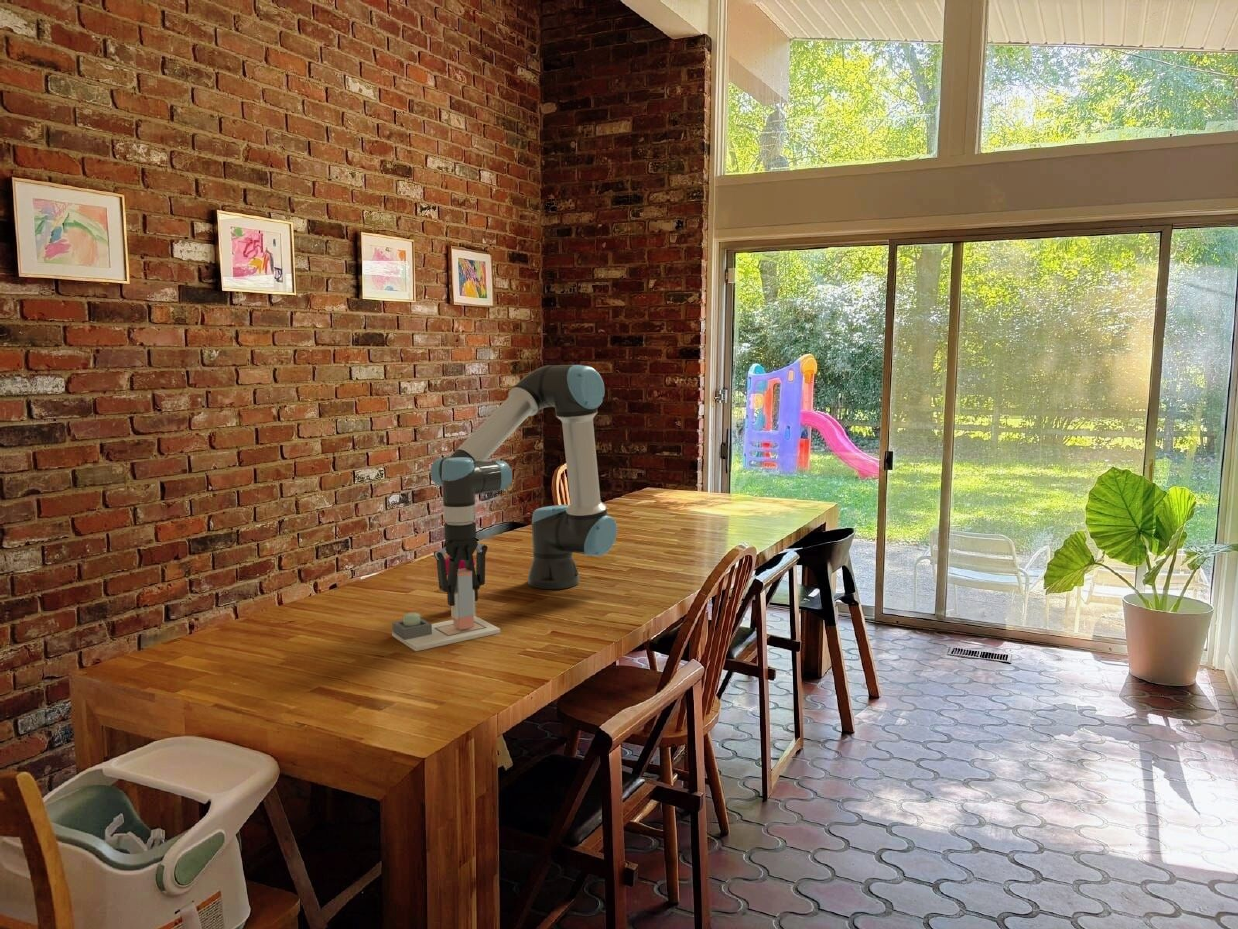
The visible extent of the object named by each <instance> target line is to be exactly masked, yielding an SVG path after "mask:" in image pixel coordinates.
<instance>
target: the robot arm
mask: <svg viewBox="0 0 1238 929" xmlns="http://www.w3.org/2000/svg"><path fill="white" fill-rule="evenodd" d="M604 397H605V384H604V380H603V377H602V376H601V375H600V373H599V372H598V371H597V370H596V369H595V368H593V367H592V366H589V365H582V364H581V365H580V364H568V365H566V364H562V365H558V364H557V365H553V364H548V365H544V366H541V367H539V368H536V369H535V370H533V371H531V372H530V373H528V374H527V375H525V376H524V377H523V378H522V379H520V380H519V381H518V382H517V383H516V384H515V385H514V386H513V387H512V388H511V389H510V390H509V392H508V397H507V398H506V399H505V400H504V401H503V402H502V403H501V404H500V405H499V406H498V407H497V408H496V409H495V410H494V411H493V412H492V413H491V414H490V415H489V416H488V417H487V419H485V420H484V421H483V422H482V423H481V424H480V426H478V427H477V428H476V430H474V431H473V432H472V434H471V435H469V436H468V437H467V438H466V439H465V441H463V443H462V444H461V445H459V446H458V447H457V448H456V450H455V451H454V452H452V453H451V455H450V456H448V457H447V456H444V457H440V458H437V459H435V460H434V461H433V463H432V464H431V466H430V472H429V473H430V478H431V480H432V482H433V484H435V485H436V486H439V487H442V499H443V500H442V501H443V502H442V504H443V508H442V509H443V521H444V522H445V524H443V527H444V528H443V529H444V530H443V532H444V540H445V541H444V544H443V548H441V549H440V550H438V551H437V550H434V552H433V556H434V558H435V560H436V566H437V567H436V568H437V569H436V570H437V579H438V589H439V590H440V591H442V592H444V593H446V595H447V596H446V597H447V598H446V600H447V605H448V606H450V612H451V618H452V619H453V618H454V619H456V620H457V619H459V604H458V593H457V592H455V587H456V580H457V572H458V566H459V564H460V561H461V560H463V561H464V562H465V566H466V569H468V570H471V571H472V590H473V615H474V616H476V602H478V601H479V595H478V594H479V593H478V591H479V589H480V588H481V586H483V585H485V584H486V554H487V552H488V545H486V544H483V543H478V540H477V523H476V522H475V520H476V495H481V494H486V493H488V494H489V493H494V492H496V493H497V492H499V491H502V490H505V489H507V488H509V486H510V485H511V484H512V480H513V472H512V468H511V467H510V465H509V464H508V462H506V461H505V460H501V459H499V460H495V459H493V460H491V461H487V460H488V459H489V458H491V456H492V455H493V454H494V453H495V452H496V450H498V448H500V446H501V445H502V444H503V443H504V442H505V441H506V440H507V439H508V438H509V437H510V436H511V435H512V434H513V433H514V432H515V431H516V430H517V429H518V428H519V427H520V426H521V424H522V423H523V422H524V421H525V420H526V419H528V417H533V416H535V415H536V414H537V413H538V412H540V410H542V409H544V408H554V411H555V417H556V418H557V419H558V420H560V421H561V425H562V433H563V444H564V453H565V454H564V455H565V463H566V472H567V474H566V475H567V480H568V481H567V482H568V484H567V485H568V492H569V502H570V503H569V504H557V505H550V506H549V505H548V506H543V507H539V508H536V509H535V510H534V511H533V512H532V522H531V529H532V530H531V531H532V532H531V533H532V554H533V555H532V556H533V557H532V561H531V565H530V568H529V572H528V575H527V584H528V586H529V587H531V588H535V589H540V590H562V589H568V588H572V587H575V586H576V585H578V584H579V582H580V576H579V575H580V574H579V572H578V571H579V570H578V569H577V568H578V567H577V566H576V563H575V560H574V558H573V553H575V554H580V555H586V556H589V557H593V556H594V557H602V556H604V555H606V554H607V553H609V551H611V549H612V548H613V545H615V542H616V539H617V536H618V535H617V534H618V525H617V522H616V520H615V519H614V518H613V517H612V516H610V515H608V511H607V510H608V509H607V505H606V504H604V502H602V500H601V491H600V482H599V471H598V460H597V451H596V450H597V449H596V438H595V428H594V418H595V416H596V415H597V414H598V413H599V412H598V408H599V407H600V406H601V404H602V403H603V401H604V399H603V398H604ZM475 552H476V558H474V556H473V554H474V553H475ZM446 554H447V555H446ZM446 556H448V557H449V572H448V575H447V572H446V562H445V559H446V558H447V557H446ZM475 559H476V560H475ZM474 560H475V565H476V567H475V565H474V563H473V562H474ZM475 568H476V569H475ZM476 617H477V616H476Z"/></svg>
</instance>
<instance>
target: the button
mask: <svg viewBox="0 0 1238 929" xmlns="http://www.w3.org/2000/svg"><path fill="white" fill-rule="evenodd" d="M420 618H421V613H418V612H409V613H404V614H403V616H402V619H403V620H402V621H403V623H404V627H406V628H408V627H413V626H418V625H421V621H420Z"/></svg>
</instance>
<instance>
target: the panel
mask: <svg viewBox="0 0 1238 929" xmlns="http://www.w3.org/2000/svg"><path fill="white" fill-rule="evenodd" d="M420 621H421V625H418V626H413V627H408V628H406V627H404V623H403V620H398V621H395V622H394V621H393V622H392V632H391V633H392V634H391V635H392V637H393V638H395V639H396V640H398V641H400V642H401V643H402V644H404V645H406V646H407V647H409V648H410V649H411V650H413V651H414V652H419V651H424V650H428V649H432V648H437V647H442V646H445V645H452V644H455V643H459V642H460V643H461V642H464V641H469V640H474V639H479V638H485V637H488V636H492V635H497V634H501V628H499V627H498V626H495V625H494V624H492V623H490V622H489V621H485V620H484V619H482V618H480V617H478V616H474V627H472V628H467V629H462V630H460V629H458V628H456V627H454V622H453V619H450V620H446V621H445V620H444V621H439V622H435V623H430V622H428V621H427V620H426V619H424V618H422V617H420Z"/></svg>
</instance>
